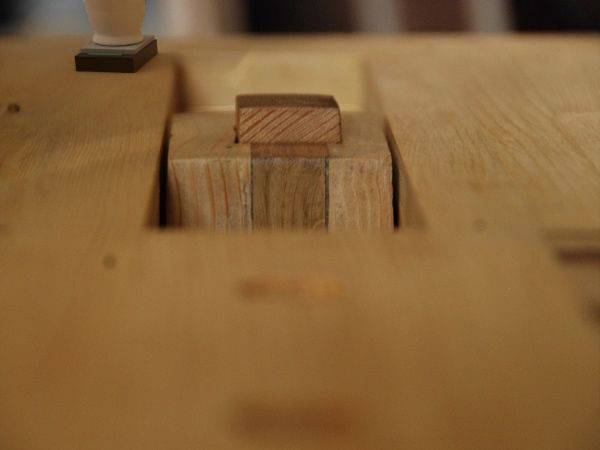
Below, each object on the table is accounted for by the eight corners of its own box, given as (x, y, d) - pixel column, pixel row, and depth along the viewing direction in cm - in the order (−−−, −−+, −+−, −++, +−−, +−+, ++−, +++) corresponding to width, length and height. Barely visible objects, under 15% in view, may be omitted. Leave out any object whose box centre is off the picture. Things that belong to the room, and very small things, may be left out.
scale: (75, 71, 130) (73, 51, 129) (104, 51, 143) (102, 33, 142) (134, 72, 129) (132, 52, 128) (157, 53, 142) (156, 34, 141)
